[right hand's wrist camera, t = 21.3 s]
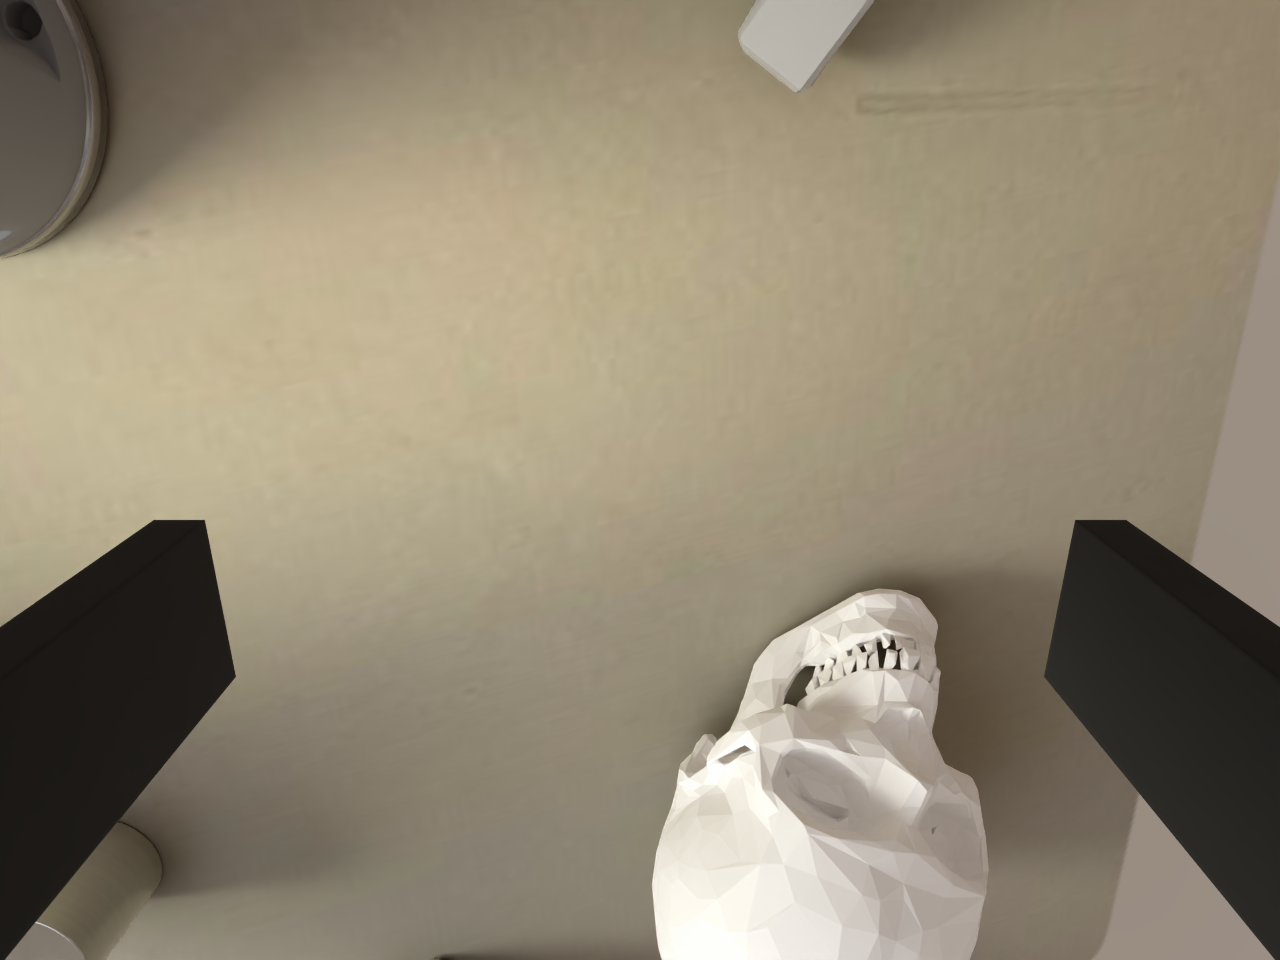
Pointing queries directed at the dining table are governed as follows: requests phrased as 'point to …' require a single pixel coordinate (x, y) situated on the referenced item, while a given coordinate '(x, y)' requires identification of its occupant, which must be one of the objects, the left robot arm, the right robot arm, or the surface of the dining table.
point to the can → (96, 901)
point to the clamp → (798, 36)
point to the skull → (827, 808)
